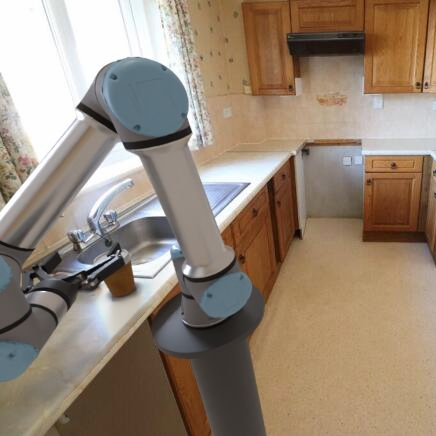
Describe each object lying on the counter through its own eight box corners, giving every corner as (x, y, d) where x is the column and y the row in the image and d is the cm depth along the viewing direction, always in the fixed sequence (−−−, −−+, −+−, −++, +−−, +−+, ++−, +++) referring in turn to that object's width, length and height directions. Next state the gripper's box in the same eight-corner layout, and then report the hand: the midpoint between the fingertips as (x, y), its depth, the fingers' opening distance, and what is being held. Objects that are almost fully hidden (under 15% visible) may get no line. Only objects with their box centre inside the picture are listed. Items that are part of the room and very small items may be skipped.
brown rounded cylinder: (101, 283, 102) (97, 272, 100) (90, 292, 98) (84, 280, 96) (67, 280, 104) (61, 269, 102) (54, 289, 100) (48, 277, 98)
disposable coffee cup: (148, 282, 101) (137, 249, 96) (126, 301, 93) (112, 266, 88) (121, 280, 103) (109, 247, 98) (97, 299, 94) (83, 264, 89)
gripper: (-21, 334, 61) (38, 273, 80) (122, 306, 67) (146, 255, 85) (-43, 303, 58) (24, 247, 77) (110, 277, 63) (138, 230, 82)
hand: (89, 251), depth 81 cm, fingers open, 13 cm apart
